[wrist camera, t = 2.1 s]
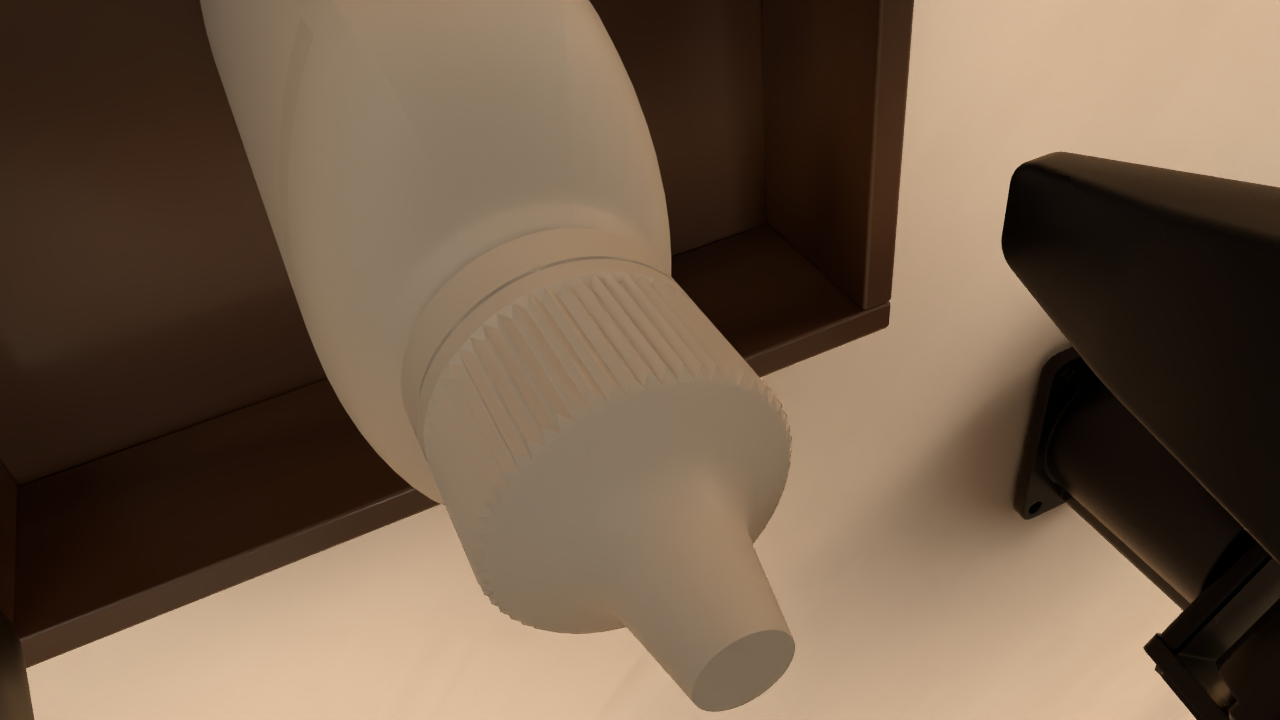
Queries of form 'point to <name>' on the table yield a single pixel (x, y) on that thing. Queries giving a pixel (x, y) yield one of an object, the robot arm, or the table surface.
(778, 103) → the box
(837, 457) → the table surface
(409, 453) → the eye dropper bottle
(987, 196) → the table surface
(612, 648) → the table surface
